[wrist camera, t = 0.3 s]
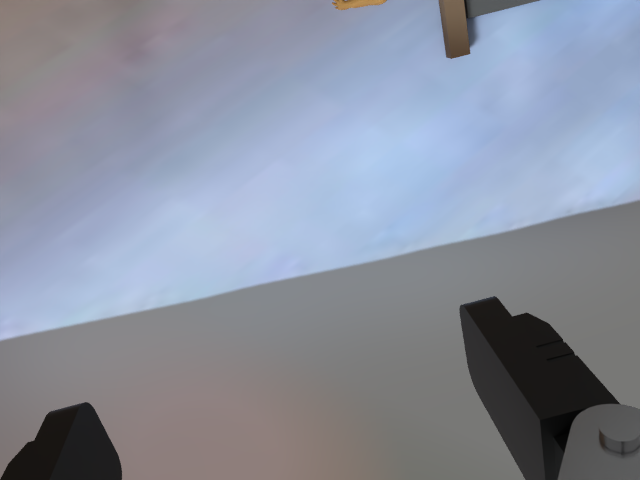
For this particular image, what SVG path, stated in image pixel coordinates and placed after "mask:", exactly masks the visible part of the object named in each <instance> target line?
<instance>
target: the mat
mask: <svg viewBox="0 0 640 480" xmlns="http://www.w3.org/2000/svg"><path fill="white" fill-rule="evenodd" d="M535 1H539V0H464V4H465V12H466V18H472V17H476V16H480V15H484V14H488V13H492V12H496V11H500V10H504V9H508V8H511V7H515V6H519V5H523V4H527V3H531V2H535Z"/></svg>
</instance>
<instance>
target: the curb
mask: <svg viewBox="0 0 640 480" xmlns="http://www.w3.org/2000/svg"><path fill="white" fill-rule="evenodd" d="M439 6H440V13H441V21H442V28H443V35H444V43H445V50H446V57H447V58H451V59H452V58H456V57H460V56H464V55H468V54H470V48H469V39H468V31H467V22H466V14H465V5H464V0H439Z"/></svg>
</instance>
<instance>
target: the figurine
mask: <svg viewBox="0 0 640 480" xmlns="http://www.w3.org/2000/svg"><path fill="white" fill-rule="evenodd" d="M334 1H335V2H336V3H333V2H332V4H333V5H334V6H337V7H335V8H336V9H338V10H346V9H349V8H358V7H364V6H368V5H380V4H383V3H384V2H386V1H387V0H347V1H344V0H334Z"/></svg>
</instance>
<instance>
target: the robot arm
mask: <svg viewBox="0 0 640 480" xmlns="http://www.w3.org/2000/svg"><path fill="white" fill-rule="evenodd" d="M460 318H461V325H462V331H463V338H464V344H465V351H466V357H467V363H468V368H469V372H470V375H471V379H472V382H473V384H474V387H475V389H476V391H477V393H478V395H479V397H480V399H481V401H482V402H483V404H484V406H485V408H486V410H487V411H488V413H489V415H490V417H491V419H492V420H493V422H494V424H495V426H496V427H497V429H498V431H499V433H500V434H501V436H502V438H503V440H504V442H505V444H506V445H507V447H508V449H509V451H510V452H511V454H512V456H513V458H514V460H515V462H516V463H517V465H518V467H519V469H520V470H521V472H522V474H523V476H524V478H525V479H526V480H640V409H638V408H635V407H631V406H627V405H621V404H620V403H619V402H618V401H617V400H616V399H615V398H614V396H613V395H612V394H611V393H610V392H609V391H608V390H607V389H606V388H605V386H604V385H603V384H602V383H601V382H600V381H599V380H598V379H597V377H596V376H595V375H594V374H593V373H592V372H591V371H590V370H589V368H588V367H587V366H586V365H585V364H584V363H583V362H582V360H581V359H580V358H579V357H578V356H575V354H574V352H573V350H572V349H571V348H570V347H569V346H568V345H567V344H566V343H564V342H563V339H562V338H561V337H560V336H559V334H558V333H557V332H556V331H555V330H554V329H553V328H552V327H551V325H550V324H548V323H547V322H545V321H542V320H541V319H539V318H537V317H534V316H533V315H531V314H529V313H524V314H521V315H517V316H513V317H512V316H511V315H510V313H509V312H508V311H507V310H506V309H505V307H504V306H503V305H502V303H501V302H500V301H499V299H498V298H497V297H495V296H494V297H490V298H486V299H482V300H478V301H475V302H471V303H467V304H464V305H461V306H460ZM0 480H122V470H121V463H120V460H119V456H118V454H117V452H116V450H115V448H114V446H113V444H112V442H111V440H110V439H109V437H108V435H107V433H106V431H105V429H104V427H103V425H102V423H101V421H100V419H99V417H98V415H97V413H96V411H95V409H94V408H93V407H92V405H91V404H89V403H87V402H85V403H81V404H77V405H73V406H70V407H66V408H62V409H58V410H55V411H51V412H49V413H48V414H47V415H46V417H45V419H44V421H43V423H42V426H41V427H40V430H39V432H38V434H37V436H36V438H35V440H34V441H31V442H28V443H27V444H26V445H25V446H24V447H23V448H22V449H21V451H20V452H19V453H18V454H17V455H16V456H15V457H14V458H13V459H12V461H11V462H10V463H9V464H8V466H7V468H6V470H5V471H4V474H3V476H2V477H1V479H0Z"/></svg>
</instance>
